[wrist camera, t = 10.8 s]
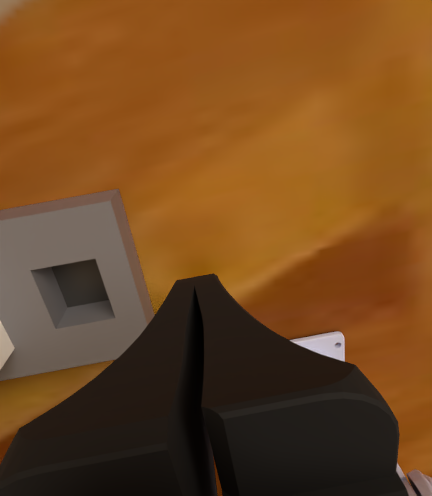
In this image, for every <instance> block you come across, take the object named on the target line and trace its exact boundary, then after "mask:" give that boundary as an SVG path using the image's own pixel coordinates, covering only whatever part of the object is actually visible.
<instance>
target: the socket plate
mask: <svg viewBox="0 0 432 496" xmlns="http://www.w3.org/2000/svg"><path fill="white" fill-rule="evenodd" d="M154 316H155V315H154V312H153V308H152V305H151V301H150V298H149V294H148V291H147V287H146V284H145V280H144V276H143V273H142V269H141V266H140V262H139V259H138V255H137V252H136V248H135V245H134V241H133V238H132V234H131V231H130V227H129V224H128V220H127V217H126V213H125V209H124V206H123V202H122V199H121V195H120V192H119V189H115V190H110V191H104V192H99V193H93V194H88V195H82V196H76V197H71V198H65V199H60V200H54V201H49V202H43V203H38V204H32V205H27V206H21V207H16V208H10V209H5V210H0V321H1V323H2V325H3V327H4V329H5V331H6V332H7V334H8V336H9V338H10V340H11V342H12V344H13V346H14V348H15V349H14V350H13V352H12V353H11V355H10V356H9V358H8V359H7V361H6V362H5V364H4V365H3V367H2V368H1V370H0V381H3V380H8V379H13V378H19V377H24V376H29V375H35V374H40V373H46V372H51V371H56V370H62V369H67V368H72V367H78V366H83V365H88V364H94V363H99V362H104V361H110V360H115V359H117V358H118V357H120V356H121V355H122V354H123V353H124V352H125V351H126V350H127V349H128V348H129V347H130V345H131V344H132V343H133V342H134V341H135V340H136V339H137V338H138V337H139V336H140V334H141V333H142V332H143V331H144V329H145V328H146V327H147V325H148V324H149V323H150V321H151V320H152V319H153V317H154Z"/></svg>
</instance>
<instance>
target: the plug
mask: <svg viewBox="0 0 432 496" xmlns="http://www.w3.org/2000/svg"><path fill="white" fill-rule="evenodd" d="M14 349H15V348H14V346H13V344H12V342H11V340H10V338H9V336H8V334H7V332H6V331H5V329H4V327H3V325H2V323H1V321H0V370H1V368H2V367H3V365H4V364H5V362H6V361H7V359H8V358H9V356H10V355H11V353H12V352H13V350H14Z"/></svg>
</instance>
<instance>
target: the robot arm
mask: <svg viewBox="0 0 432 496" xmlns="http://www.w3.org/2000/svg"><path fill="white" fill-rule="evenodd" d="M336 343H338V344H337V345H335V344H336ZM398 445H399V427H398V421H397V420H396V418H395V416H394V414H393V412H392V411H391V409H390V407H389V406H388V404H387V403H386V401H385V400H384V398H383V397H382V396H381V394H380V393H379V392H378V391H377V389H376V388H375V387H374V386H373V385H372V383H371V382H370V381H369V380H368V379H367V378H366V377H365V375H364V374H363V373H362V372H361V371H360V370H359V369H358V367H357V366H356V365H354V364H350V363H347V362H345V349H344V336H343V334H342V333H341V332H339V331H337V332H331V333H325V334H320V335H315V336H309V337H304V338H299V339H293V340H288V339H286V338H284V337H282V336H280V335H278V334H277V333H275V332H273V331H272V330H270V329H269V328H267V327H266V326H264V325H263V324H262V323H260V322H259V321H258V320H256V319H255V318H254V317H253V316H251V315H250V314H249V313H248V312H247V311H246V310H245V309H243V308H242V307H241V306H240V305H239V304H238V303H237V302H236V301H235V300H234V298H233V297H232V296H231V295H230V294H229V293H228V292H227V291H226V289H225V288H224V287H223V285H222V284H221V282H220V281H219V279H218V276H216V275H215V274H209V275H203V276H198V277H192V278H187V279H182V280H177V281H176V282H175V284H174V285H173V287H172V289H171V291H170V292H169V294H168V296H167V297H166V299H165V301H164V302H163V304H162V305H161V307H160V308H159V310H158V311H157V313H156V314H155V316H154V317H153V319H152V320H151V321H150V323H149V324H148V325H147V327H146V328H145V329H144V331H143V332H142V333H141V334H140V336H139V337H138V338H137V339H136V340H135V341H134V342H133V343H132V344H131V345H130V347H129V348H128V349H127V350H126V351H125V352H124V353H123V354H122V355H121V356H120V357H118V358H117V359H116V360H115V361H114V362H113V363H112V364H111V365H109V366H108V367H107V368H106V369H105V370H104V371H103V372H102V373H100V374H99V375H98V376H97V377H96V378H94V379H93V380H92V381H90V382H89V383H88V384H87V385H85V386H84V387H83V388H81V389H80V390H78V391H77V392H76V393H74V394H73V395H72V396H70V397H69V398H67V399H66V400H64V401H63V402H61V403H60V404H58V405H57V406H55V407H54V408H52V409H50V410H49V411H47V412H46V413H44V414H42V415H41V416H39V417H38V418H36V419H34V420H33V421H31V422H30V423H28V424H26V425H24V426H23V427H21V428H19V430H18V432H17V434H16V436H15V437H14V439H13V441H12V443H11V445H10V447H9V449H8V450H7V452H6V454H5V457H4V459H3V461H2V463H1V465H0V496H217V487H216V478H215V469H214V460H215V464H216V468H217V472H218V476H219V480H220V484H221V488H222V495H223V496H432V478H431V477H429V476H426V475H423V474H422V473H421V472H420V471H418V470H413V471H411V472H409V473H407V477H408V479H409V482H410V484H411V485H410V484H409V482H408V481H407V479H406V477H405V475H404V474H403V472H402V470H401V468H400V467H399V465H398V463H397V458H398ZM213 456H214V460H213ZM411 486H412V487H411Z"/></svg>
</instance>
